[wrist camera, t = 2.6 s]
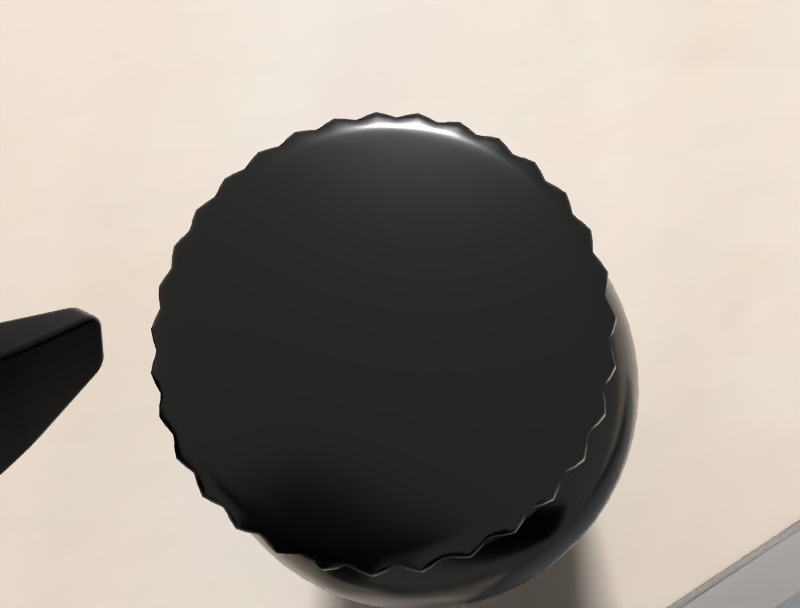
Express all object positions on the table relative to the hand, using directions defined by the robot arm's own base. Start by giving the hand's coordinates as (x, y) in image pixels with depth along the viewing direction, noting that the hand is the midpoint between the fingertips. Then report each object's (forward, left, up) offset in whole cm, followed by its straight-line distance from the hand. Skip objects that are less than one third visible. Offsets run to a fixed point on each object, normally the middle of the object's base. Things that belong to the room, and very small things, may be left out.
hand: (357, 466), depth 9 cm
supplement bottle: (+1, +1, -9) cm, 9 cm away
